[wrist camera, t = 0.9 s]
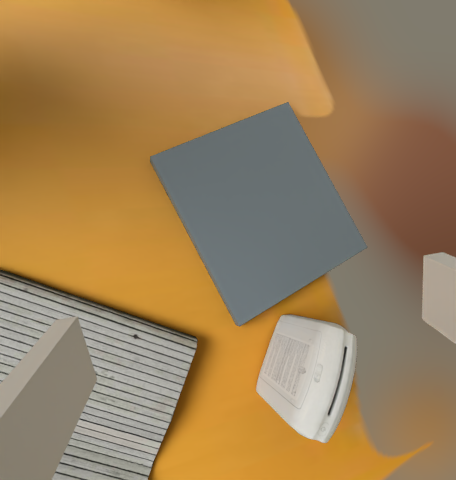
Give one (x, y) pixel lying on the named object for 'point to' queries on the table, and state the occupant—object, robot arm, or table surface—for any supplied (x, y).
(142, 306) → the table surface
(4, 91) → the table surface
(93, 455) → the mat
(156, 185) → the table surface
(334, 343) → the photo printer
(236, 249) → the slate board
